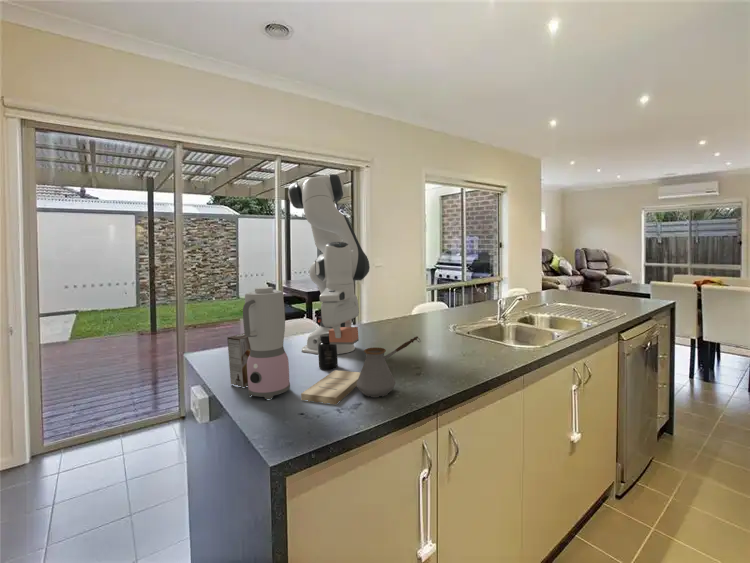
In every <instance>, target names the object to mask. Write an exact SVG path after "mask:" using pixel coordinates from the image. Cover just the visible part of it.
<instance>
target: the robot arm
mask: <svg viewBox="0 0 750 563" xmlns="http://www.w3.org/2000/svg"><path fill="white" fill-rule="evenodd" d="M344 192H345V186H344V182H343V181H342V179H341V177H340V176H339V175H338V174H336V173H334V174H333V173H331V174H328V175H327V174H326V175H318V176H313V177H309V178H307V179H304V180H301V181H295V182H293V183H291V184H290V185H289V186H288V191H287V196H288V200H289V202H290V204H291V205H292V206H293V207H294V208H295V209H298V210H300V209H301V210H302V209H303V212H304V216H305V219H306V220H307V222H308V223H309V224H310V227H311V231H312V235H313V241H314V245H315V247H316V249H318V250H319V251H320V252H321V254H319V255H318V256H317V257H316V258H315V260H314V261H313V262H312V263H311V265H310V266H309V277H310V279H311V281H312V282H313V283H314V284H315V285H316V286H317V288H318V290H319V292H320V295H319V302H321V305H320V312H321V313H320V314H321V318H320V319H318V321H317V322H318V323H319V326H318V327H317V328H316V329H315V330H313V331H312V332H311V333H310V334H309V335H308V337H307V339H306V345H304V346H302V348H301V352H302V353H307V354H308V353H309V354H313V355H314V354H315V355H318V344H319V343H320V342H321V341H320V335H322V334H329V330H331V329H333V330H334V332H335V337H336V338H341V337H342V332H341V330H340V327H352V323H353V319H354V318H357V317H359V315H360V308H359V301H358V300H359V299H358V297H357V295H355V282H354V281H362V280H364V279H365V278H366V276H367V275H368V274H369V272H370V262H369V258H368V256H367V255H366V252H364V250H363V248H362V246H361V244H360V242H359V240H358V237H357V236H356V234H355V231H354V229H353V226H352V225H351V222H350V220H349V219H348V217H347V216H346V215H345V214H343V213H341V212H340V210H338V208H337V207H336V206H338V202H340V201H341V200H342V199H343V197H344ZM334 202H335V203H334ZM354 344H355V343H354ZM354 344H337V355H340V354H346V353H350V352H353V351H354V350H356V347H355V345H354Z"/></svg>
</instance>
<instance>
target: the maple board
mask: <svg viewBox="0 0 750 563" xmlns="http://www.w3.org/2000/svg"><path fill="white" fill-rule="evenodd" d="M360 373H361V371H359V372H358V371H347V370H336V369H333V371H331V372H330V373H329V374H327V375H325V376H324V377H323V378H321V379H320V380H319V381H317V382H316V383H315V384H313V385H311V386H310V387H308V388H306V390H304V391H303V392H301V393H300V400H301V401H302V400H308V401H307V402H310V401H314V402H313V403H318V402H323V403H322V404H326V403H330V404H329V405H335V404H336V405H338V404H339V403H340V402H341V401H342V400H344V398H345V397H347V396H348V395H350V394H351V392H352V391H353V390H354V389H356V388H358V387H357V381H358V378H359V375H360ZM339 401H340V402H339ZM338 402H339V403H338ZM337 403H338V404H337Z"/></svg>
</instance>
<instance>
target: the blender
mask: <svg viewBox="0 0 750 563" xmlns="http://www.w3.org/2000/svg"><path fill="white" fill-rule="evenodd" d="M285 311H286V310H285V302H284V292H283V291H281V290H278V289H277V290H274V288H273V286H260V287H259V286H258V287H255V288H254V291H250V292H249V291H248V292H246V293H245V294H244V305H243V307H242V320H243V331H244V333H245V335H246V336H247V337H248V339H249V343H250V348H251V351H250V355H249V357H248V360H247V376H248V387H247V390H248V397H249V396H251V395H252V397H253V396H254V397H264V400H265V399H271V398H273V399H274V396H278V395H280V394H284V393H286V392H288V391H289V390H290V389H291V383H290V365H289V357H288V355H287V353H286V351H285V348H284V339H285V332H286V330H285V329H286V312H285Z"/></svg>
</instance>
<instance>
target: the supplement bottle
mask: <svg viewBox="0 0 750 563" xmlns="http://www.w3.org/2000/svg"><path fill="white" fill-rule="evenodd" d="M320 341H321V342H320V343H319V344H318V354H317V355H318V356H317V357H318V368H319V369H320V370H322V371H323V370H324V371H331V370H336V369H337V368H338V365H339V363H338V354H337V344H330V341H329V334H322V335H320Z"/></svg>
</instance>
